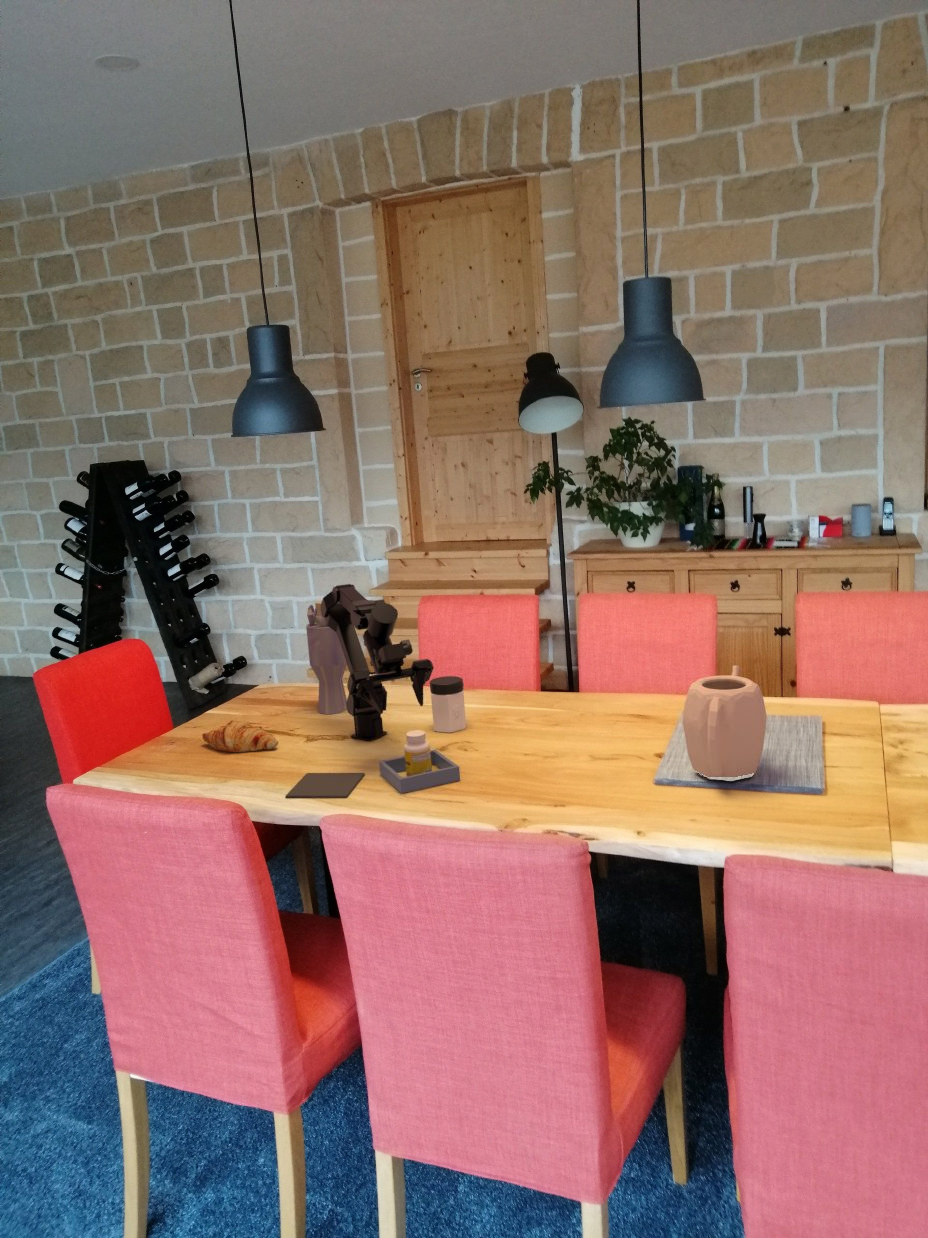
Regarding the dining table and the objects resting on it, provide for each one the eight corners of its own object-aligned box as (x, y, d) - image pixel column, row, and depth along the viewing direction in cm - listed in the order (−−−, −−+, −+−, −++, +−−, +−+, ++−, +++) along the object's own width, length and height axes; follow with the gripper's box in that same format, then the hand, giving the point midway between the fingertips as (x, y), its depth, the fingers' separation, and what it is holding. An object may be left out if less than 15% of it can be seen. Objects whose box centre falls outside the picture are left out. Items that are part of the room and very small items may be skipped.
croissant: (285, 759, 224) (291, 727, 226) (264, 753, 215) (270, 719, 217) (211, 753, 232) (217, 721, 234) (187, 747, 222) (193, 714, 224)
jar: (443, 735, 223) (439, 687, 220) (425, 728, 229) (421, 681, 227) (474, 727, 227) (470, 679, 225) (456, 720, 234) (452, 674, 232)
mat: (307, 775, 202) (306, 773, 202) (364, 774, 200) (364, 772, 200) (285, 798, 189) (285, 795, 189) (346, 798, 187) (346, 795, 187)
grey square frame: (380, 774, 199) (379, 761, 198) (436, 762, 204) (435, 749, 203) (401, 793, 187) (400, 779, 187) (460, 780, 192) (459, 766, 192)
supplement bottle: (406, 774, 198) (402, 730, 196) (431, 772, 198) (428, 728, 197) (407, 783, 193) (403, 738, 191) (433, 781, 193) (429, 735, 191)
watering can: (776, 752, 195) (775, 665, 192) (756, 799, 172) (755, 701, 168) (701, 746, 202) (699, 662, 198) (672, 791, 179) (669, 696, 175)
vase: (350, 713, 247) (340, 602, 241) (311, 715, 247) (300, 604, 241) (354, 702, 257) (344, 595, 251) (316, 704, 257) (306, 598, 251)
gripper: (345, 635, 198) (366, 696, 190) (427, 623, 205) (450, 681, 197) (338, 664, 207) (358, 724, 199) (417, 651, 214) (439, 708, 206)
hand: (402, 709), depth 200 cm, fingers open, 9 cm apart
